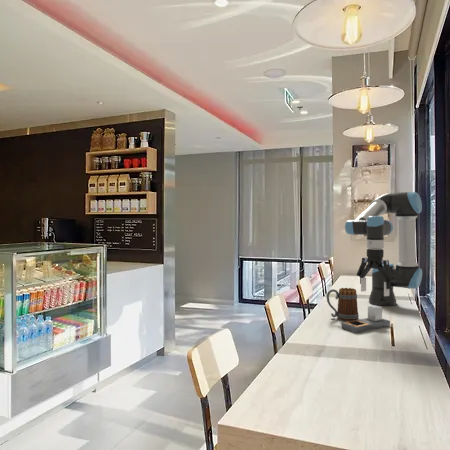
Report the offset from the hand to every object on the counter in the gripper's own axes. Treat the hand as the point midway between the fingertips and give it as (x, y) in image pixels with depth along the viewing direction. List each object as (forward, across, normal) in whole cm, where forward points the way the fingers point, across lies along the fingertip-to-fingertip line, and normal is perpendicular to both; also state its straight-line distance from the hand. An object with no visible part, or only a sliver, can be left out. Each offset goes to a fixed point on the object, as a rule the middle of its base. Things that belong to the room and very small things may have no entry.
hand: (374, 293), depth 190 cm
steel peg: (+15, 0, 0) cm, 15 cm away
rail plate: (+15, 0, -6) cm, 16 cm away
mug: (+15, -17, -4) cm, 23 cm away
